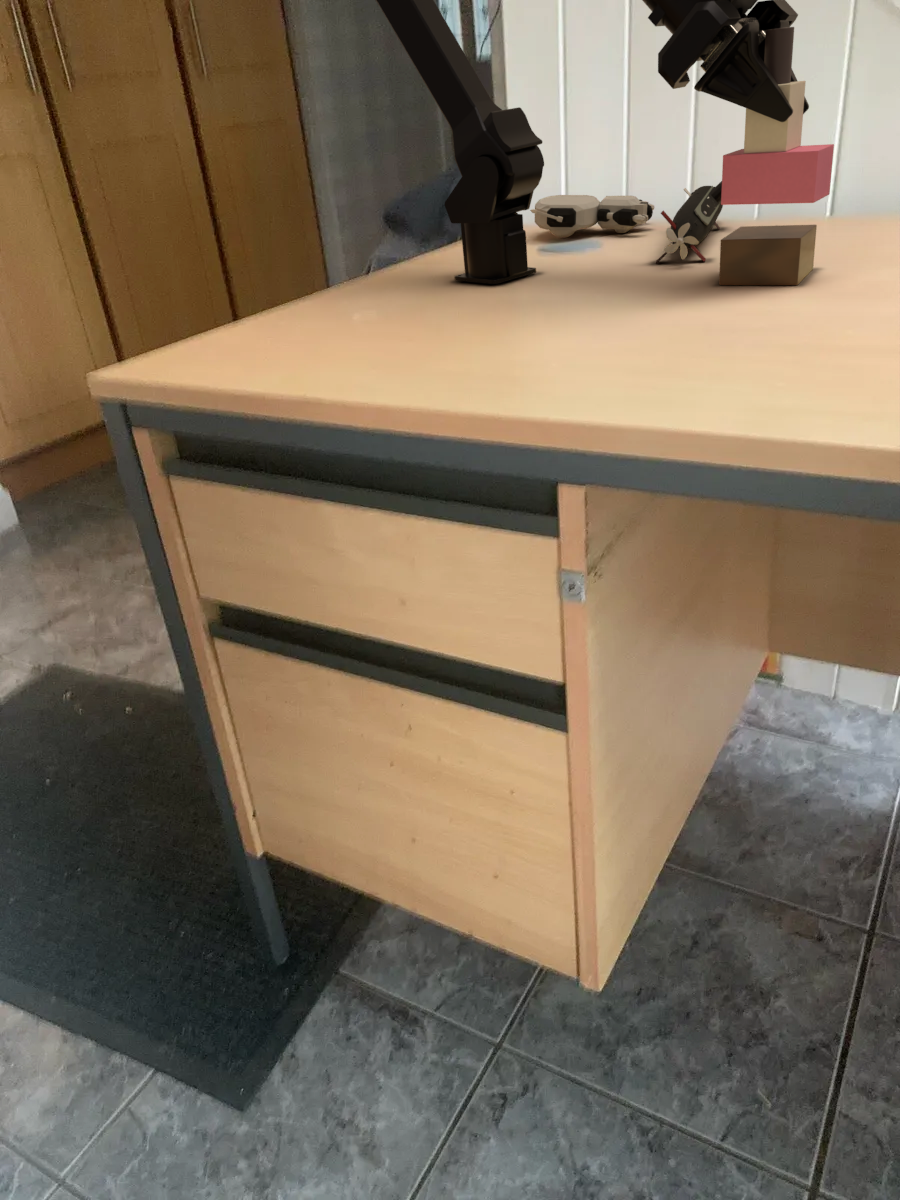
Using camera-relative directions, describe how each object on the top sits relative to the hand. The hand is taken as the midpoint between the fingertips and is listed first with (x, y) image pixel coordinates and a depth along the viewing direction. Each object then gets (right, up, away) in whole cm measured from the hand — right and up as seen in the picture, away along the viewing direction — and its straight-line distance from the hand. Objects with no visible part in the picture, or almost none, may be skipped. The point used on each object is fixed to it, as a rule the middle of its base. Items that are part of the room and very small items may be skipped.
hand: (796, 115), depth 79 cm
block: (+1, -10, +9) cm, 14 cm away
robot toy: (-11, +7, +43) cm, 44 cm away
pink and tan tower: (-1, -5, +4) cm, 7 cm away
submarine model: (0, 0, +29) cm, 29 cm away
